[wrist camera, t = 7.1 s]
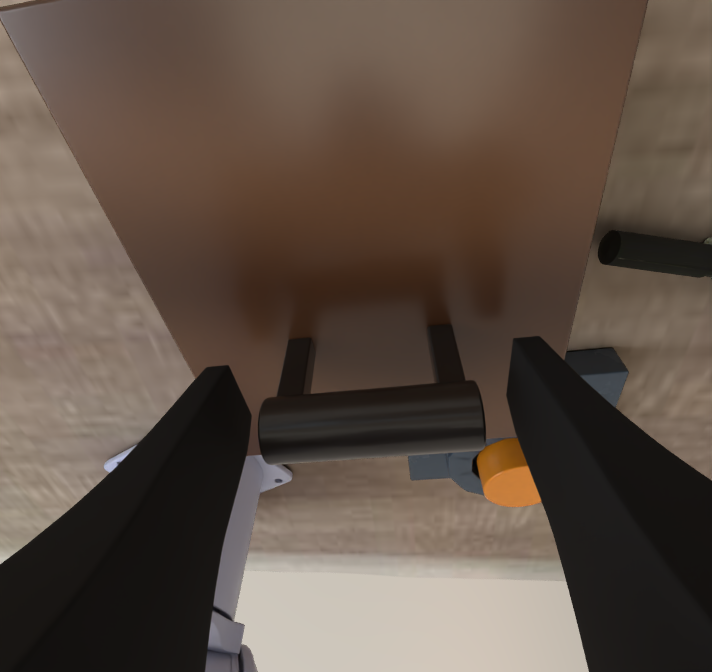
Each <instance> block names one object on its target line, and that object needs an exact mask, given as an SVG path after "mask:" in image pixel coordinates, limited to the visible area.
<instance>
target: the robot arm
mask: <svg viewBox="0 0 712 672" xmlns="http://www.w3.org/2000/svg"><path fill="white" fill-rule="evenodd" d="M506 397H507V401H508V405H509V409H510V414H511V418H512V421H513V425H514V429H515V433H516V436H517V438H518V441H519V444H520V446H521V449H522V452H523V454H524V457H525V459H526V462H527V465H528V467H529V470H530V472H531V475H532V478H533V480H534V483H535V485H536V488H537V491H538V493H539V496H540V498H541V501H542V504H543V506H544V509H545V511H546V514H547V517H548V520H549V523H550V526H551V529H552V532H553V534H554V538H555V542H556V545H557V549H558V552H559V556H560V560H561V563H562V567H563V570H564V574H565V578H566V582H567V585H568V589H569V593H570V597H571V600H572V604H573V608H574V612H575V616H576V620H577V624H578V628H579V632H580V636H581V640H582V645H583V649H584V653H585V657H586V661H587V665H588V669H589V672H712V481H711V480H710V479H708V478H707V477H706V476H704V475H703V474H701V473H700V472H698V471H697V470H695V469H694V468H692V467H691V466H690V465H688V464H687V463H685V462H684V461H683V460H681V459H680V458H678V457H677V456H676V455H674V454H673V453H671V452H670V451H669V450H667V449H666V448H664V447H663V446H662V445H661V444H659V443H658V442H657V441H655V440H654V439H653V438H651V437H650V436H649V435H648V434H646V433H645V432H644V431H643V430H641V429H640V428H639V427H638V426H637V425H635V424H634V423H633V422H632V421H630V420H629V419H628V418H627V417H626V416H624V415H623V414H622V413H621V412H620V411H619V410H617V409H616V408H615V407H614V406H613V405H612V404H610V403H609V402H608V401H607V400H606V399H605V398H604V397H603V396H602V395H600V394H599V393H598V392H597V391H596V390H595V389H594V388H593V387H592V386H591V385H589V384H588V383H587V382H586V381H585V380H584V379H583V378H582V377H581V376H580V375H579V374H578V373H577V372H576V371H575V370H574V369H573V368H572V367H571V366H570V365H569V364H568V363H566V362H565V361H564V360H563V359H562V358H561V357H560V356H559V355H558V354H557V353H556V352H555V351H554V350H553V349H552V348H551V347H550V346H549V345H548V344H547V343H546V342H545V341H544V340H543V339H542V338H541V337H540V336H532V337H521V338H513V344H512V352H511V360H510V368H509V376H508V384H507V392H506ZM251 420H252V414H251V412H250V410H249V408H248V406H247V404H246V401H245V399H244V397H243V395H242V393H241V391H240V388H239V386H238V384H237V382H236V380H235V378H234V375H233V373H232V371H231V369H230V367H229V365H223V366H212V367H206V368H205V369H204V370H203V371H202V372H201V374H200V375H199V376H198V377H197V378H196V379H195V380H194V382H193V383H192V384H191V385H190V386H189V387H188V388H187V390H186V391H185V392H184V393H183V394H182V395H181V397H180V398H179V399H178V400H177V401H176V402H175V404H174V405H173V406H172V407H171V408H170V409H169V410H168V412H167V413H166V414H165V415H164V416H163V417H162V418H161V420H160V421H159V422H158V423H157V424H156V425H155V426H154V427H153V429H152V430H151V431H150V432H149V433H148V434H147V435H146V436H145V437H144V438H143V439H142V440H141V441H140V442H139V443H138V444H137V445H135V446H133V447H131V448H130V449H128V450H126V451H124V452H122V453H120V454H118V455H117V456H115V457H113V458H111V459H109V460H107V461H106V463H105V465H104V468H105V470H107V471H108V472H110V473H109V474H108V475H107V476H106V477H105V478H104V479H103V480H102V481H101V482H100V483H99V484H98V485H97V486H95V487H94V488H93V489H92V490H91V491H90V492H89V493H88V494H87V495H86V496H84V497H83V498H82V499H81V500H80V501H79V502H78V503H77V504H75V505H74V506H73V507H72V508H71V509H70V510H69V511H67V512H66V513H65V514H64V515H62V516H61V517H60V518H59V519H57V520H56V521H55V522H54V523H53V524H51V525H50V526H49V527H48V528H46V529H45V530H44V531H43V532H42V533H40V534H39V535H38V536H37V537H35V538H34V539H33V540H32V541H31V542H29V543H28V544H27V545H25V546H24V547H23V548H22V549H20V550H19V551H18V552H16V553H15V554H14V555H12V556H11V557H10V558H8V559H7V560H6V561H4V562H3V563H2V564H0V672H258V671H257V668H256V665H255V663H254V659H253V655H252V653H251V650H250V649H249V648H248V647H247V646H246V645H242V644H241V642H242V637H243V632H244V626H245V625H244V624H241V623H237V622H234V618H235V613H236V608H237V603H238V598H239V593H240V589H241V583H242V579H243V574H244V569H245V564H246V559H247V554H248V549H249V544H250V539H251V534H252V530H253V525H254V520H255V515H256V510H257V505H258V500H259V495H260V493H262V492H264V491H267V490H269V489H272V488H274V487H277V486H279V485H282V484H284V483H287V482H289V481H291V480H292V476H293V474H292V472H291V471H290V470H288V469H287V468H286V467H284V466H283V465H269V464H267V463H266V462H265V461H264V459H263V457H262V455H255V456H246V455H247V451H248V444H249V437H250V429H251Z"/></svg>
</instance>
